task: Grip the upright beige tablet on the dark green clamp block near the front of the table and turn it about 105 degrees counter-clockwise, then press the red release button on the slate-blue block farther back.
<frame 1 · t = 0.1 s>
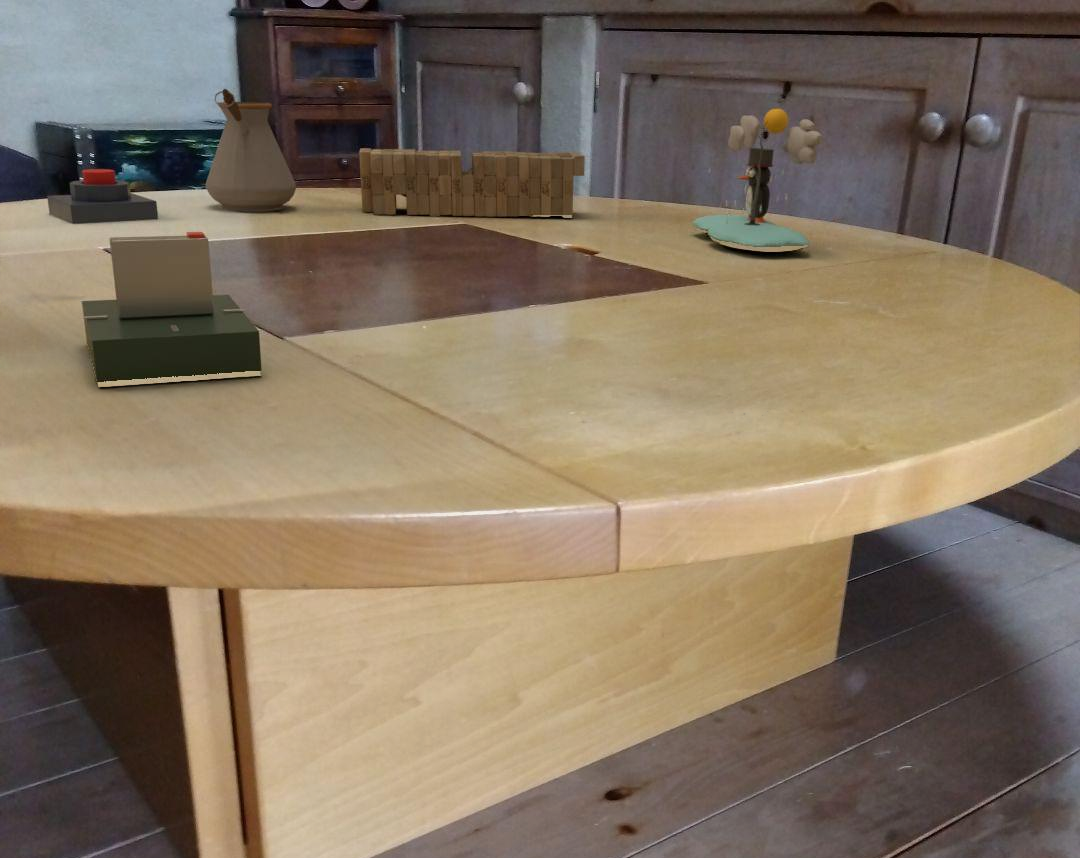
coffee pot: (247, 214, 143), on the table
upright beige tablet: (162, 274, 74), point 6 cm above the table, hinge at 0.0°
button block: (103, 217, 135), on the table
penguin figurine: (747, 246, 133), on the table
block tower: (471, 214, 150), on the table
release button: (99, 178, 133), point 4 cm above the table, slide at 0.1 cm
clamp block: (170, 359, 76), on the table
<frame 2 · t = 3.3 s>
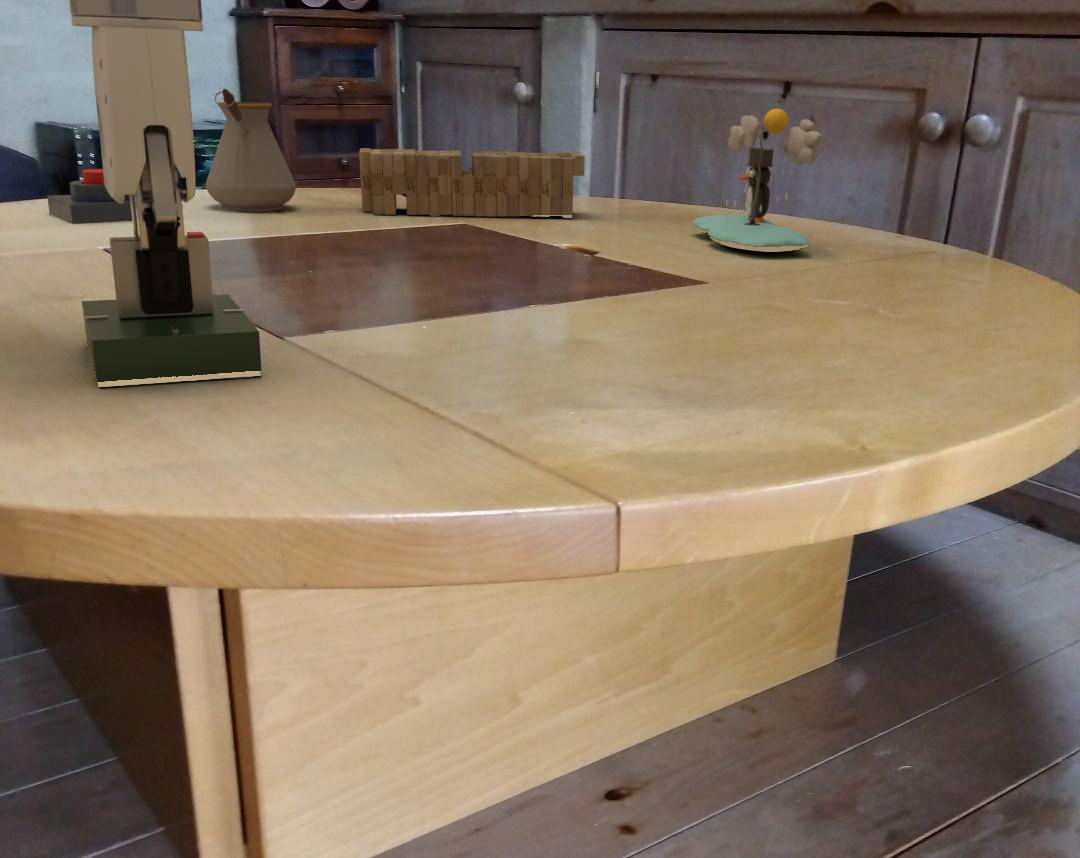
hand: (165, 307, 75), 4 cm above the table, tool pointing down, fingers closed
upright beige tablet: (162, 274, 74), point 6 cm above the table, hinge at 0.0°, touching gripper
everything else where it was.
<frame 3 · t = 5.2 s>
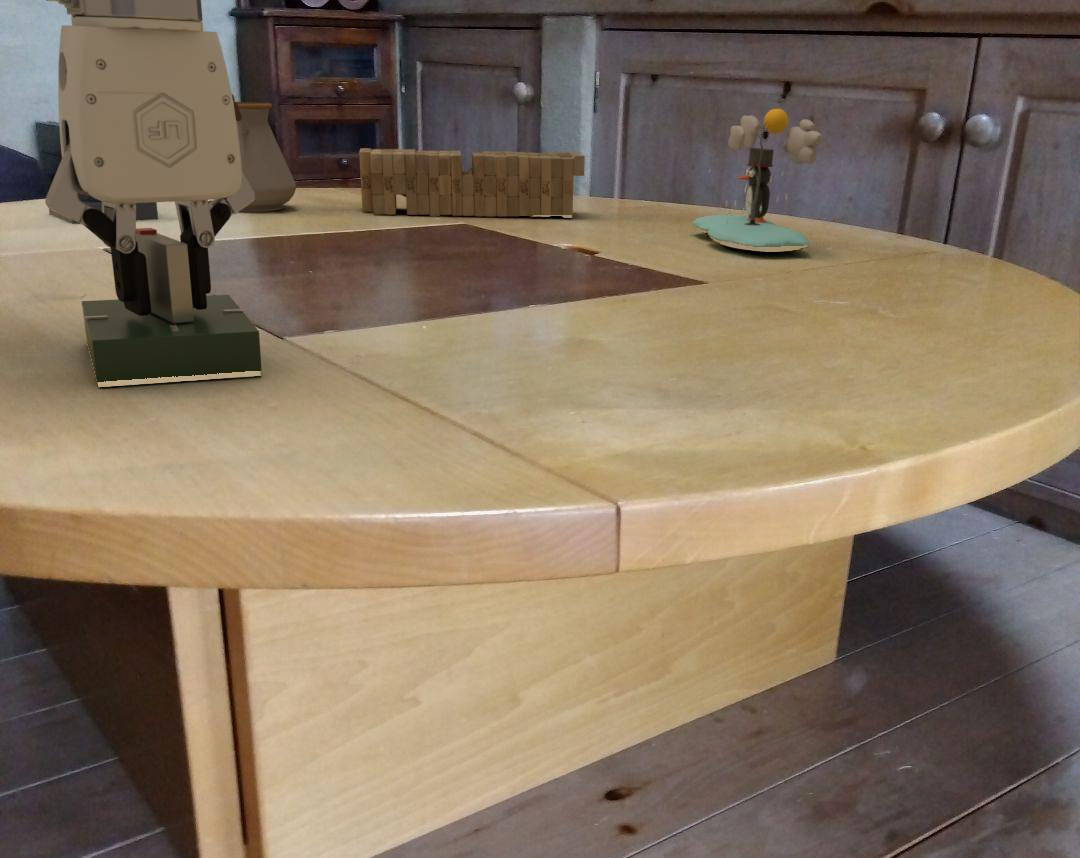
hand: (165, 306, 74), 4 cm above the table, tool pointing down, fingers open, 3 cm apart
upright beige tablet: (162, 274, 74), point 6 cm above the table, hinge at 104.8°
everything else where it was.
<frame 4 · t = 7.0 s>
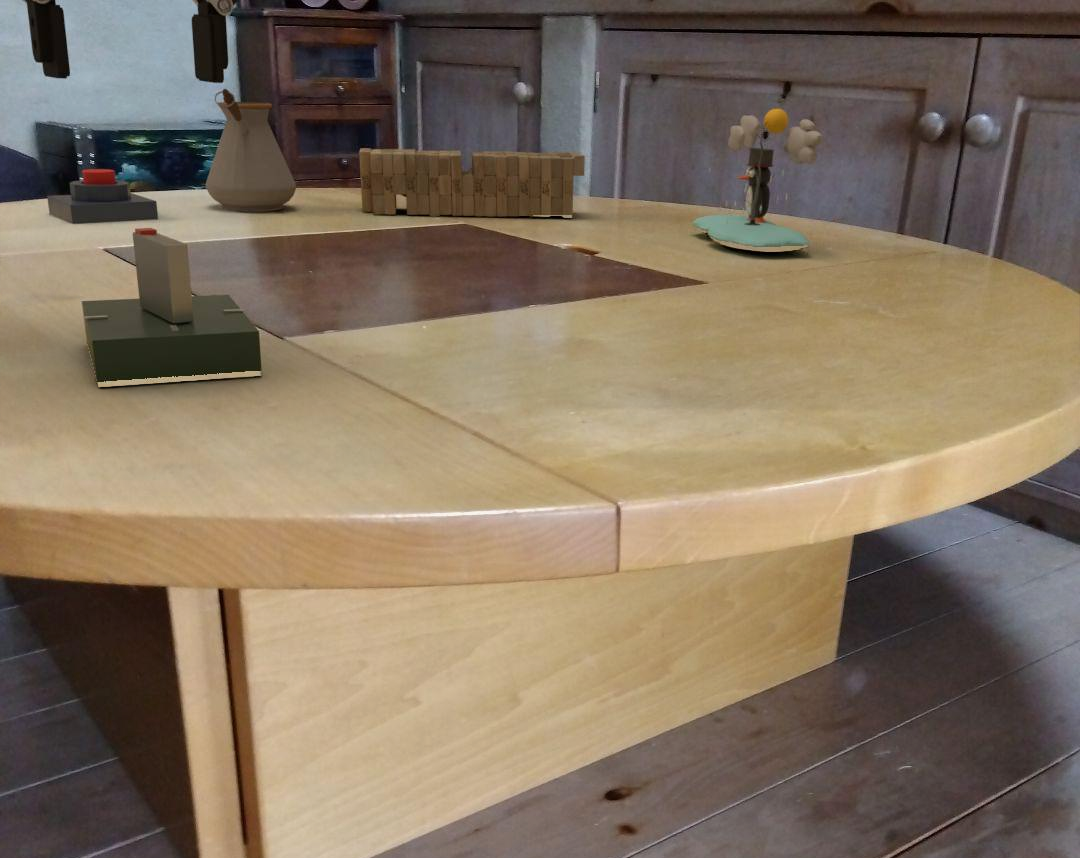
hand: (136, 79, 71), 17 cm above the table, tool pointing down, fingers open, 9 cm apart
nothing on the table moved.
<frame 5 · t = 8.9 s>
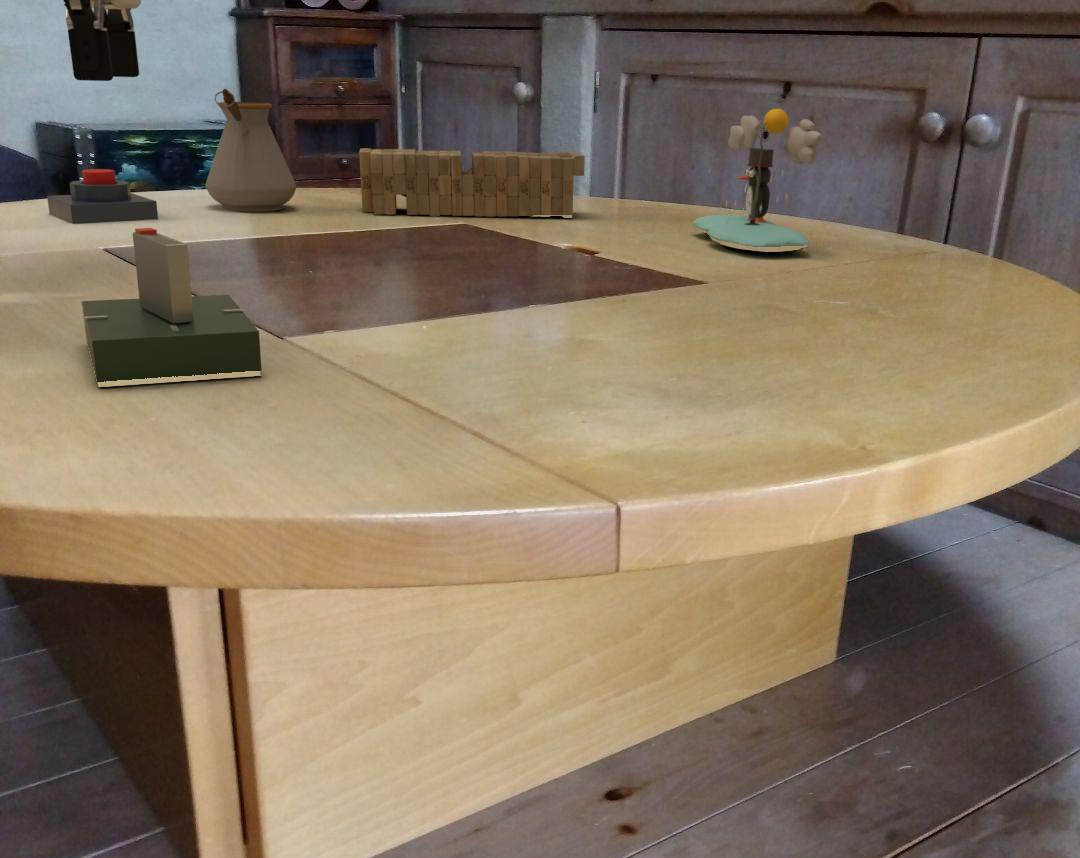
hand: (108, 78, 102), 16 cm above the table, tool pointing down, fingers open, 9 cm apart
nothing on the table moved.
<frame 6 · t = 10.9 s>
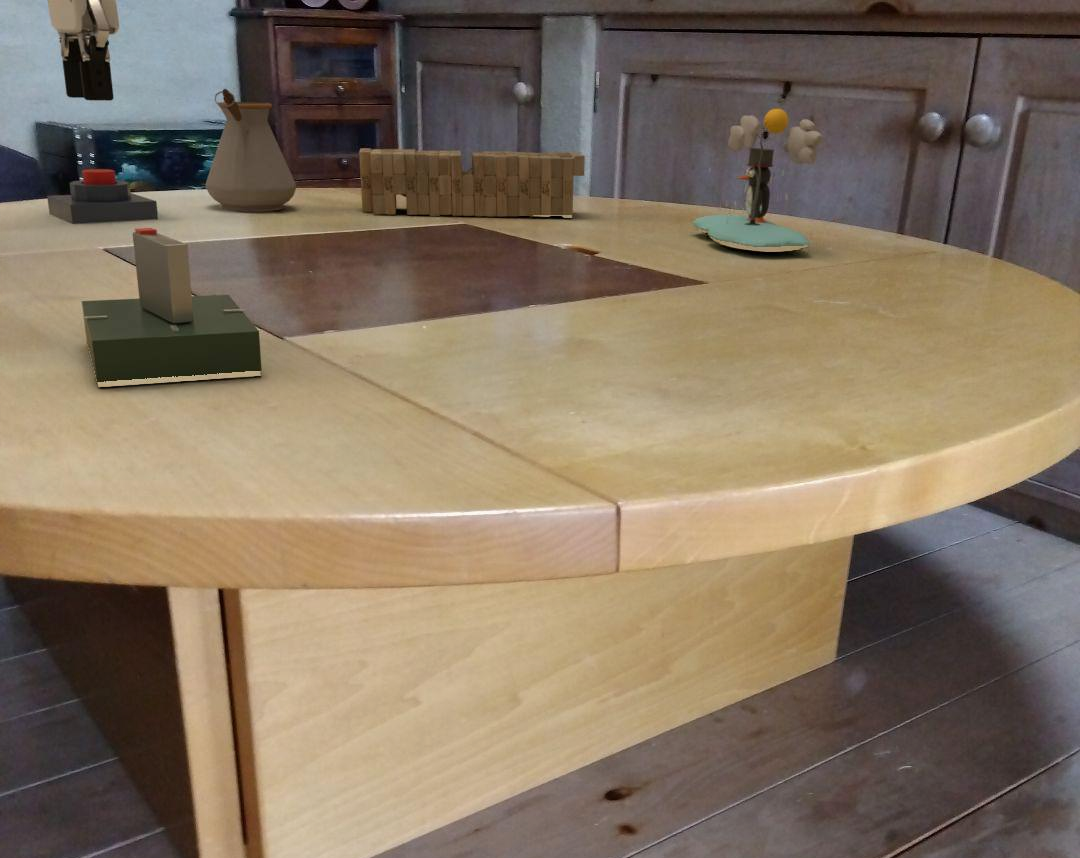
hand: (89, 97, 130), 13 cm above the table, tool pointing down, fingers open, 5 cm apart
nothing on the table moved.
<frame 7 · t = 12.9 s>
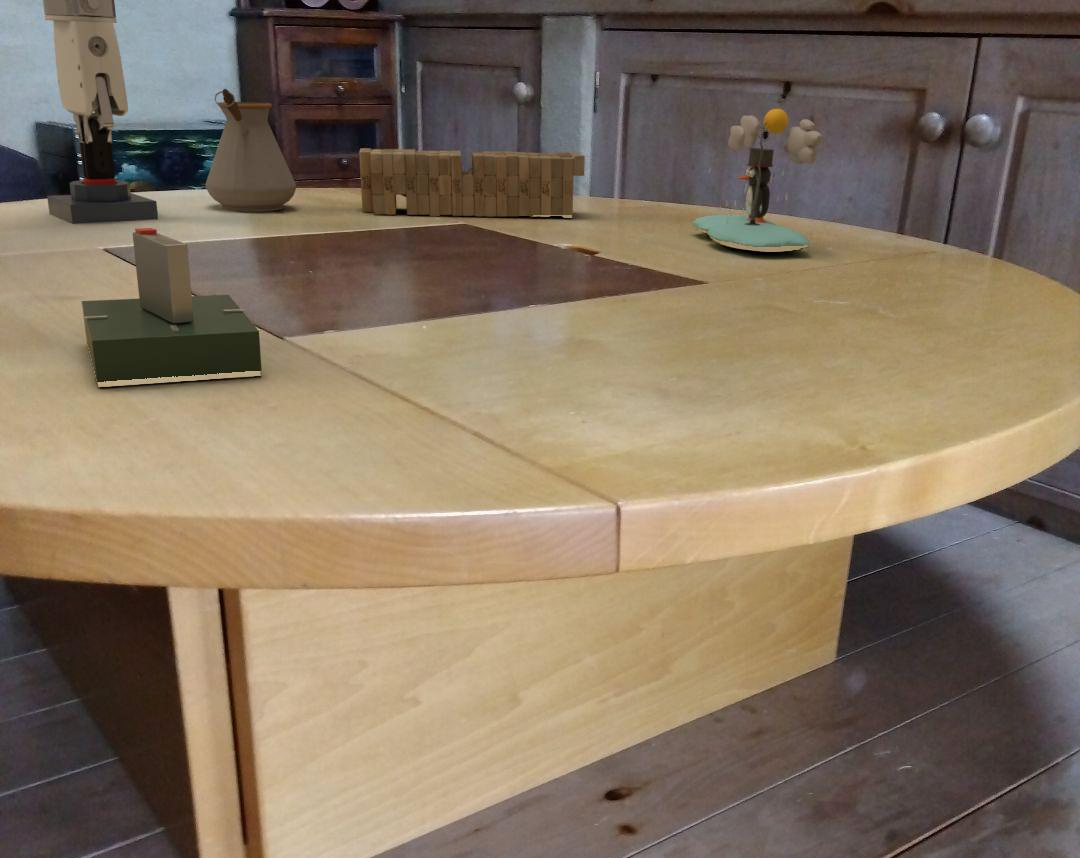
hand: (99, 178, 133), 5 cm above the table, tool pointing down, fingers closed
release button: (100, 186, 133), point 4 cm above the table, slide at -0.8 cm, touching gripper
everything else where it was.
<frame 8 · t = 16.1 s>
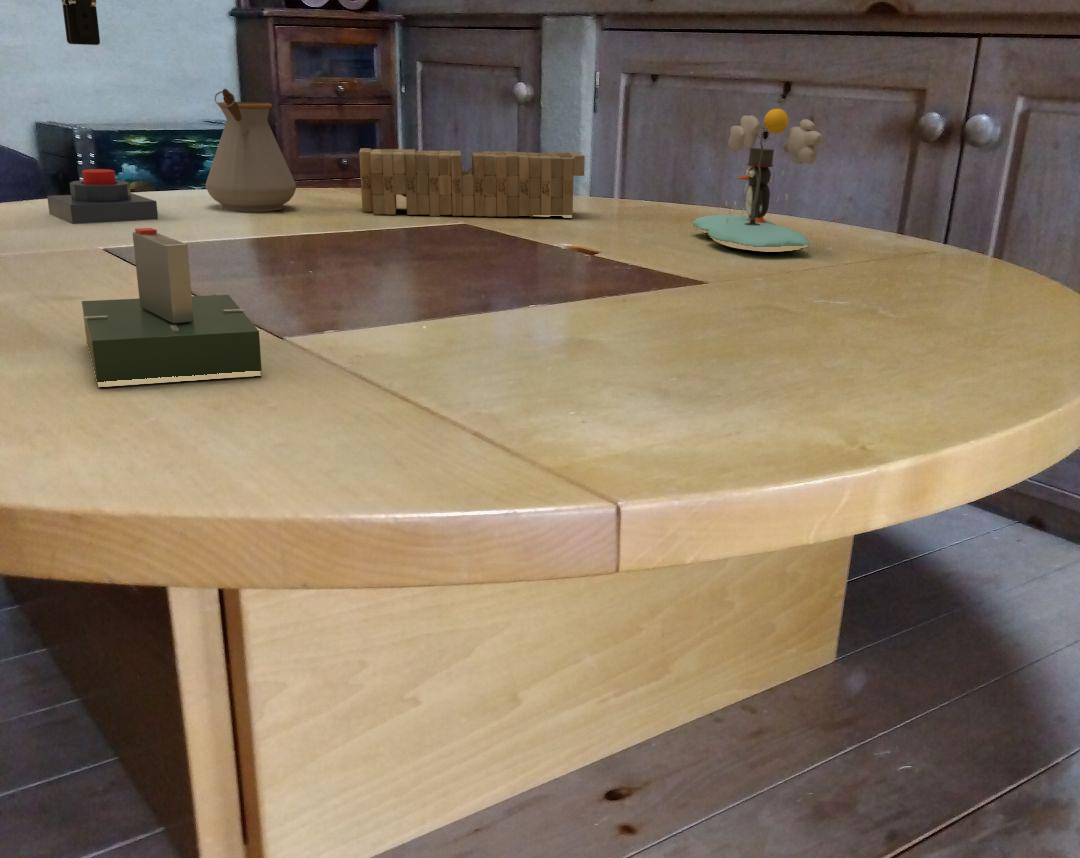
hand: (83, 44, 127), 19 cm above the table, tool pointing down, fingers closed
release button: (99, 178, 133), point 4 cm above the table, slide at 0.1 cm
everything else where it was.
at the end: upright beige tablet at +105° (first picture: +0°); release button pushed in 1.1 cm at the most during the clip, back to where it started at the end; release button slide at 0.1 cm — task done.
